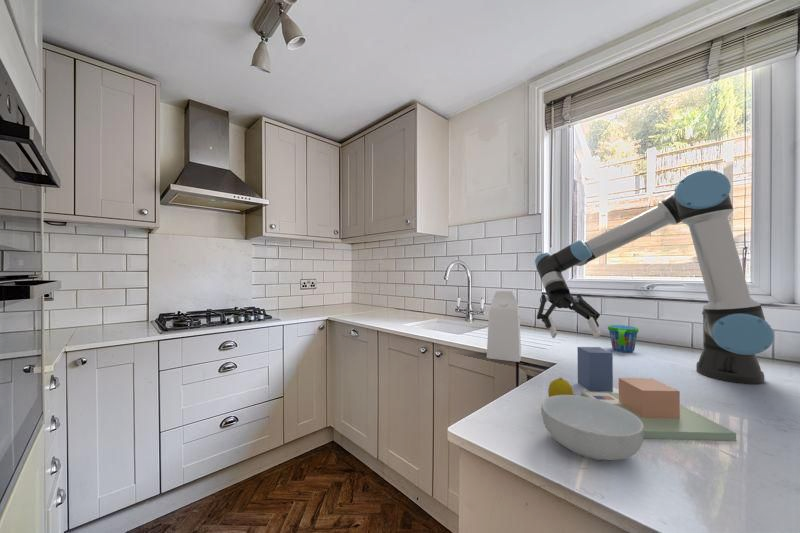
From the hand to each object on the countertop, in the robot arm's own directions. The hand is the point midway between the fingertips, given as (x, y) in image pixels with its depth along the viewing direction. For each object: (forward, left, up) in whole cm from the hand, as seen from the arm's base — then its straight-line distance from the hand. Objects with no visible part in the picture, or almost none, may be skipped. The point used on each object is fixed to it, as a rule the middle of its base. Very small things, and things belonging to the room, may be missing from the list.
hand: (576, 336), depth 100 cm
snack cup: (-37, -34, -13) cm, 52 cm away
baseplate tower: (-3, +27, -13) cm, 30 cm away
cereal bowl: (+18, +41, -13) cm, 47 cm away
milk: (+16, -23, -13) cm, 31 cm away
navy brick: (-1, +9, -13) cm, 16 cm away
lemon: (+16, +25, -13) cm, 33 cm away
